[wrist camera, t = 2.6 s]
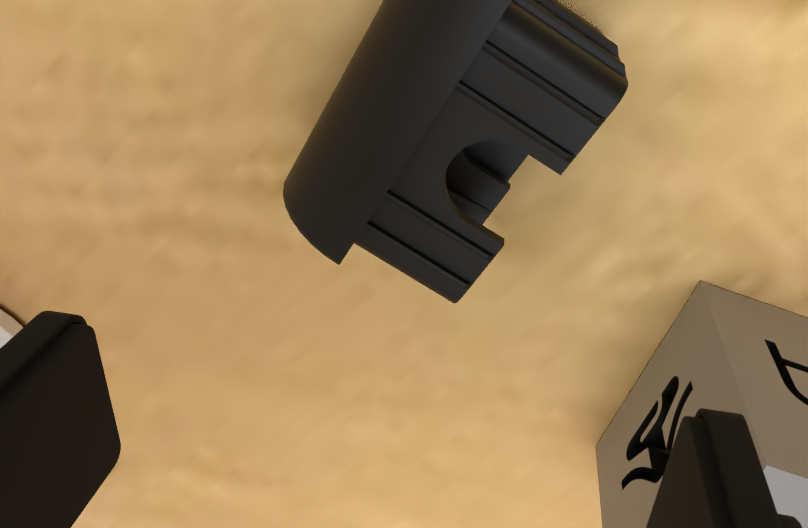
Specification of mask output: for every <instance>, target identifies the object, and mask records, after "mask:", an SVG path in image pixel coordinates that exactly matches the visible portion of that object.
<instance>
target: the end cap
mask: <svg viewBox="0 0 808 528" xmlns="http://www.w3.org/2000/svg"><path fill="white" fill-rule="evenodd" d="M627 87H628V81H627V78H626V74H625V66H624V64H623V63H622V62H620V59H619V56H618V47H617V45H616V44H614V43H613V42H611V41H610V40H609V39H607V38H606V37H604V36H603V34H602V33H601V32H600V31H599V30H598V29H597V28H595V27H594V26H593V25H591V24H590V23H588V22H587V21H585V20H584V19H582V18H581V17H579V16H578V15H577V14H575V13H574V12H572V11H571V10H569V9H568V8H566V7H565V6H564V5H562V4H561V3H559V2H558V1H556V0H384V1H383V3H382V5H381V6H380V8H379V10H378V12H377V14H376V16H375V17H374V19H373V21H372V23H371V25H370V27H369V28H368V30H367V32H366V34H365V36H364V38H363V39H362V41H361V43H360V45H359V47H358V48H357V50H356V52H355V54H354V56H353V58H352V59H351V61H350V63H349V65H348V67H347V69H346V70H345V72H344V74H343V76H342V78H341V80H340V81H339V83H338V85H337V87H336V89H335V90H334V92H333V94H332V96H331V98H330V100H329V101H328V103H327V105H326V107H325V109H324V111H323V112H322V114H321V116H320V118H319V120H318V122H317V123H316V125H315V127H314V129H313V131H312V132H311V134H310V136H309V138H308V140H307V142H306V143H305V145H304V147H303V149H302V151H301V153H300V154H299V156H298V158H297V160H296V162H295V164H294V165H293V167H292V169H291V171H290V173H289V174H288V176H287V178H286V180H285V183H284V189H283V197H284V202H285V207H286V209H287V211H288V213H289V215H290V218H291V219H292V221H293V222H294V224H295V225H296V227H297V228H298V230H299V231H300V232H301V234H302V235H303V236H304V237H305V238H306V239H307V240H308V241H309V242H310V243H311V244H312V245H313V246H314V247H315V248H316V249H318V250H319V251H320V252H321V253H322V254H323V255H325V256H326V257H328V258H329V259H331V260H332V261H334V262H335V263H337V264H338V265H339V264H340V263H341V262H342V260H343V259H344V257H345V255H346V254H347V252H348V251H349V249H350V248H351V246H352V245H353V243H355V244H357V245H358V246H360V247H362V248H363V249H365V250H367V251H368V252H370V253H372V254H373V255H375V256H376V257H378V258H380V259H381V260H383V261H385V262H386V263H388V264H390V265H391V266H393V267H395V268H396V269H398V270H400V271H401V272H403V273H405V274H406V275H408V276H410V277H411V278H413V279H414V280H416V281H418V282H419V283H421V284H423V285H424V286H426V287H428V288H429V289H431V290H433V291H434V292H436V293H438V294H439V295H441V296H443V297H444V298H446V299H448V300H449V301H451V302H452V303H457V302H458V301H459V300H460V299H461V298H462V297H463V295H464V294H465V293H466V292H467V290H468V289H469V288H470V287H471V285H472V284H473V283H474V282H475V280H476V279H477V278H478V277H479V276H480V274H481V273H482V272H483V271H484V269H485V268H486V267H487V266H488V264H489V263H490V262H491V261H492V259H493V258H494V257H495V256H496V255H497V253H498V252H499V251H500V250H501V248H502V247H503V246H504V238H502V237H500V236H499V235H497V234H496V233H494V232H492V231H491V230H489V229H488V228H486V227H484V226H483V225H482V224H483V223H484V222H485V220H486V219H487V218H488V216H489V215H490V214H491V212H492V211H493V210H494V209H495V207H496V206H497V205H498V203H499V202H500V201H501V199H502V198H503V197H504V196H505V194H506V193H507V192H508V190H509V189H510V183H508V180H509V179H510V178H511V176H512V175H513V174H514V173H515V171H516V170H517V169H518V167H519V166H520V165H521V163H522V162H523V161H524V159H525V158H526V157H527V155H528V154H529V155H530V156H532V157H533V158H535V159H537V160H538V161H540V162H541V163H543V164H544V165H546V166H547V167H549V168H550V169H552V170H553V171H555V172H557V173H558V174H560V175H561V174H562V173H563V172H564V170H565V169H566V168H567V167H568V165H569V164H570V163H571V162H572V161H573V159H574V158H575V157H576V156H577V154H578V153H579V152H580V151H581V149H582V148H583V147H584V146H585V144H586V143H587V142H588V141H589V140H590V138H591V137H592V136H593V135H594V133H595V132H596V131H597V130H598V128H599V127H600V126H601V125H602V123H603V122H604V121H605V120H606V118H607V117H608V116H609V115H610V114H611V112H612V111H613V110H614V109H615V107H616V106H617V105H618V103H619V102H620V100H621V99H622V97H623V96H624V94H625V92H626V90H627Z"/></svg>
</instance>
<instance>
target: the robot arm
mask: <svg viewBox="0 0 808 528" xmlns="http://www.w3.org/2000/svg"><path fill="white" fill-rule="evenodd" d="M120 449H121V444H120V438H119V434H118V430H117V426H116V421H115V417H114V413H113V408H112V404H111V400H110V396H109V391H108V387H107V383H106V379H105V374H104V370H103V366H102V361H101V357H100V353H99V349H98V344H97V340H96V336H95V332H94V330H93V328H92V327H91V326H88V325H87V323H86V321H85V319H84V318H83V317H82V316H79V315H74V314H67V313H60V312H54V311H43V312H41V313H40V314H38V315H37V316H36V317H35V318H33V319H32V320H31V321H30V322H29V323H28V324H27V325H26V326H25V327H23V326H21V325H20V324H19V323H18V322H17V321H16V320H15V319H14V318H12V317H11V316H10V315H8V314H7V313H5V312H4V311H3V310H1V309H0V528H71V527H72V525H73V524H74V522H75V521H76V519H77V518H78V517H79V515H80V514H81V512H82V511H83V510H84V508H85V507H86V505H87V504H88V503H89V501H90V500H91V498H92V497H93V496H94V494H95V493H96V491H97V490H98V489H99V487H100V486H101V484H102V483H103V482H104V480H105V479H106V477H107V476H108V475H109V473H110V472H111V470H112V469H113V468H114V466H115V464H116V463H117V460H118V458H119V454H120ZM646 528H802V526H801V524H800V522H799V521H798V520H797V519H796V518H795V517H793V516H788V515H782V514H778V513H777V510H776V508H775V505H774V502H773V499H772V496H771V493H770V490H769V487H768V484H767V481H766V478H765V475H764V472H763V469H762V466H761V463H760V460H759V457H758V454H757V451H756V448H755V445H754V443H753V440H752V437H751V434H750V431H749V428H748V425H747V422H746V420H745V418H744V416H743V415H742V414H738V413H731V412H725V411H718V410H711V409H705V408H701V409H699V410H698V411H697V413H696V415H695V417H691V416H684V417H683V418H682V421H681V423H680V426H679V429H678V432H677V435H676V438H675V441H674V444H673V447H672V450H671V453H670V456H669V459H668V462H667V465H666V468H665V471H664V474H663V477H662V480H661V483H660V487H659V490H658V493H657V496H656V499H655V502H654V505H653V508H652V511H651V514H650V517H649V520H648V523H647V526H646Z"/></svg>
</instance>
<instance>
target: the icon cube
mask: <svg viewBox="0 0 808 528" xmlns="http://www.w3.org/2000/svg"><path fill="white" fill-rule="evenodd" d="M701 408H705V409H711V410H718V411H725V412H731V413H738V414H742V415H743V416H744V418H745V420H746V422H747V425H748V428H749V431H750V434H751V437H752V440H753V443H754V445H755V448H756V451H757V454H758V457H759V460H760V463H761V466H762V469H763V472H764V475H765V478H766V481H767V484H768V487H769V490H770V493H771V496H772V499H773V502H774V505H775V508H776V510H777V513H778V514H782V515H788V516H793V517H795V518H796V519H797V520H798V521H799V522H800V524H801V526H802V528H808V318H806V317H803V316H800V315H797V314H795V313H792V312H789V311H786V310H783V309H780V308H777V307H774V306H771V305H768V304H766V303H763V302H760V301H757V300H754V299H751V298H748V297H745V296H742V295H739V294H736V293H734V292H731V291H728V290H725V289H722V288H719V287H716V286H713V285H710V284H707V283H704V282H702V281H700V282H699V284H698V285H697V287H696V288H695V290H694V292H693V293H692V295H691V296H690V298H689V299H688V301H687V303H686V304H685V306H684V307H683V309H682V311H681V312H680V314H679V315H678V317H677V319H676V320H675V322H674V323H673V325H672V326H671V328H670V330H669V331H668V333H667V334H666V336H665V338H664V339H663V341H662V342H661V344H660V345H659V347H658V349H657V350H656V352H655V353H654V355H653V357H652V358H651V360H650V361H649V363H648V364H647V366H646V368H645V369H644V371H643V372H642V374H641V376H640V377H639V379H638V380H637V382H636V384H635V385H634V387H633V388H632V390H631V391H630V393H629V395H628V396H627V398H626V399H625V401H624V403H623V404H622V406H621V407H620V409H619V410H618V412H617V414H616V415H615V417H614V418H613V420H612V422H611V423H610V425H609V426H608V428H607V430H606V431H605V433H604V434H603V436H602V437H601V439H600V441H599V442H598V444H597V445H596V457H597V468H598V480H599V492H600V503H601V515H602V527H603V528H646V526H647V523H648V520H649V517H650V514H651V511H652V508H653V505H654V502H655V499H656V496H657V493H658V490H659V487H660V483H661V480H662V477H663V474H664V471H665V468H666V465H667V462H668V459H669V456H670V453H671V450H672V447H673V444H674V441H675V438H676V435H677V432H678V429H679V426H680V423H681V421H682V418H683V417H684V416H691V417H695V415H696V413H697V411H698V410H699V409H701Z"/></svg>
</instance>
